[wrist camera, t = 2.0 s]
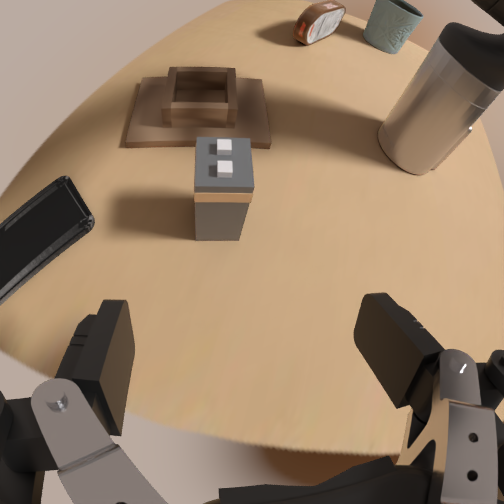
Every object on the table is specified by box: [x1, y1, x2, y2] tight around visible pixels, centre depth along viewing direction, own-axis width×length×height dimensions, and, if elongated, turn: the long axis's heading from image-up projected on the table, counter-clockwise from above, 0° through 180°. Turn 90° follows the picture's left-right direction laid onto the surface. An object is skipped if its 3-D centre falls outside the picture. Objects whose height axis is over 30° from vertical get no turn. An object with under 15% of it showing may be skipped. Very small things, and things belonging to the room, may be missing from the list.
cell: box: [194, 137, 254, 241], centre depth 25 cm, size 4×5×10 cm
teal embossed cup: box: [363, 0, 423, 54], centre depth 46 cm, size 10×10×12 cm
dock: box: [126, 67, 271, 149], centre depth 33 cm, size 16×12×4 cm
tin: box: [293, 0, 346, 45], centre depth 43 cm, size 15×3×8 cm, turn 142°
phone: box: [0, 176, 95, 305], centre depth 25 cm, size 8×1×15 cm
